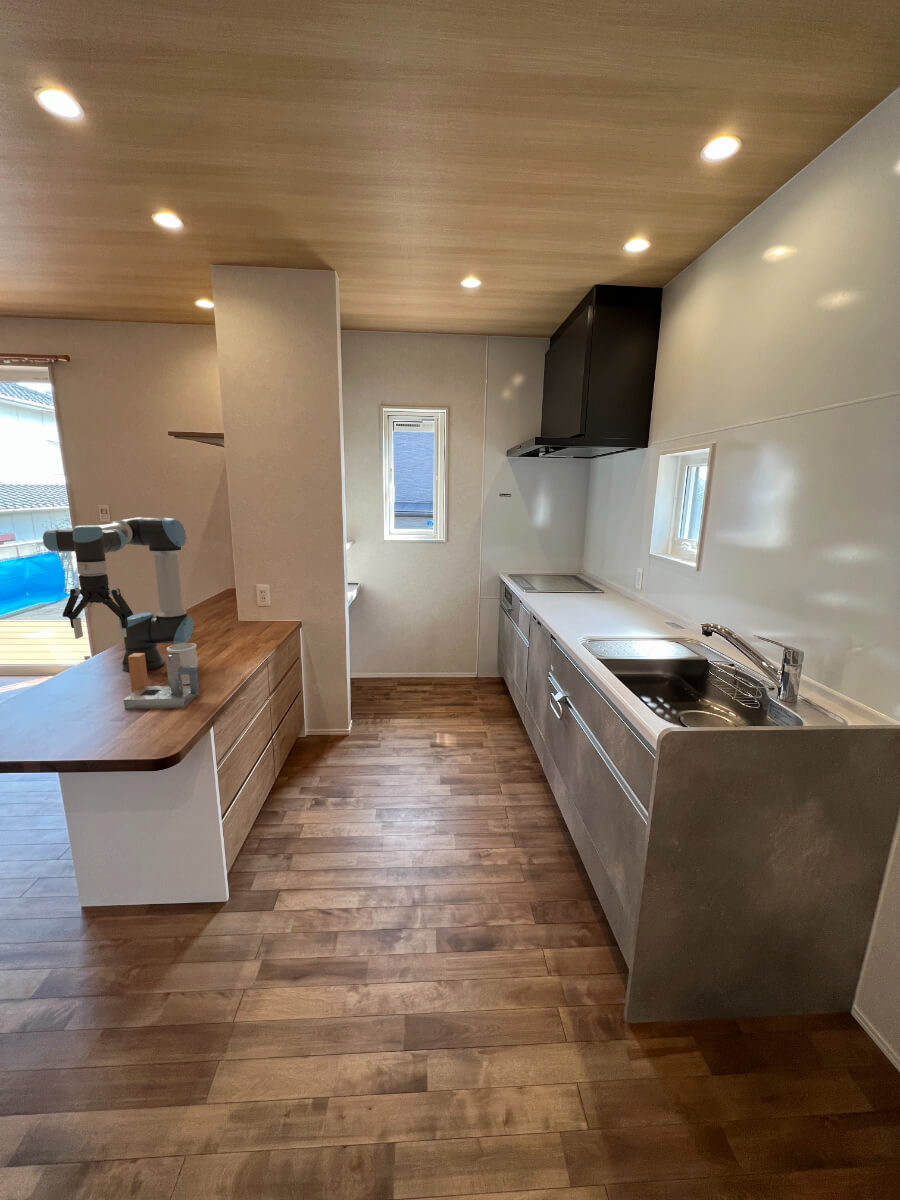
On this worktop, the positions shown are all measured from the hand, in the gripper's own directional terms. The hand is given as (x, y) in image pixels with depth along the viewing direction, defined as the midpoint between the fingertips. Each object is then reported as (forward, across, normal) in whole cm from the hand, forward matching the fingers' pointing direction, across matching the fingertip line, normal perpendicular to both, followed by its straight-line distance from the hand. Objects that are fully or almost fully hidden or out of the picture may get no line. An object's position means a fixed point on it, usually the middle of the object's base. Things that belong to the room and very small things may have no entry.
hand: (101, 637), depth 157 cm
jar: (+28, +11, +30) cm, 43 cm away
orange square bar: (+28, -1, +20) cm, 34 cm away
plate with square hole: (+28, +12, +11) cm, 33 cm away
